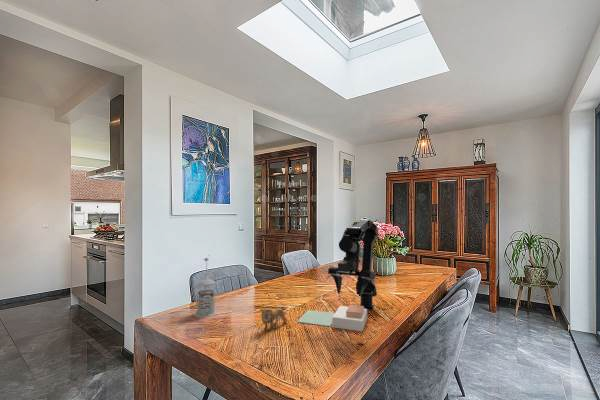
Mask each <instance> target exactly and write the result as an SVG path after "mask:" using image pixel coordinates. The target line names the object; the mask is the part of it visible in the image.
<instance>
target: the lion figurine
mask: <svg viewBox="0 0 600 400" xmlns="http://www.w3.org/2000/svg"><path fill="white" fill-rule="evenodd" d="M260 313H261V314H260V315H261V320H262V322H263V323H264V326H265V327H263V330H268V324H270V326H269V331H272V332H273V329H274V327H273V326H274V325H277V324H278V322H279V321H280V320H279V318H281V319H282V321H283V323H282V324H283V325H287V318H286V317H285V311H284V309H283V308H282V307H278V308H275V309H274V310H272V309H270V308H269V307H265V308H264V309H262V311H261V312H260ZM274 321H275V322H274Z"/></svg>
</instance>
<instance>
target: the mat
mask: <svg viewBox="0 0 600 400" xmlns="http://www.w3.org/2000/svg"><path fill="white" fill-rule="evenodd" d="M335 313H336V312H327V311H319V310H309V309H308V310H306V311H305V312H304V314H303V315H302V316H301V317H300V318H299V319H298V320H297V321H296V322H297V323H298V324H306V325H312V326H321V327H327V328H329V327H331V326H332V317H333V316H334V314H335Z"/></svg>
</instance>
